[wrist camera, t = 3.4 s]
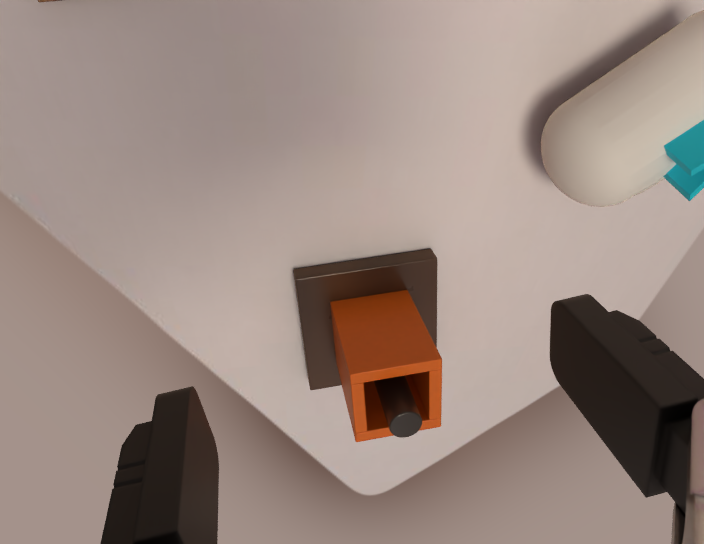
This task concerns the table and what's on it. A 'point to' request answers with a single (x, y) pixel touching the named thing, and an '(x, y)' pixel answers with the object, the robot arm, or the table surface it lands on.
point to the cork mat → (47, 0)
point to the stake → (359, 281)
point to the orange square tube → (384, 359)
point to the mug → (634, 124)
